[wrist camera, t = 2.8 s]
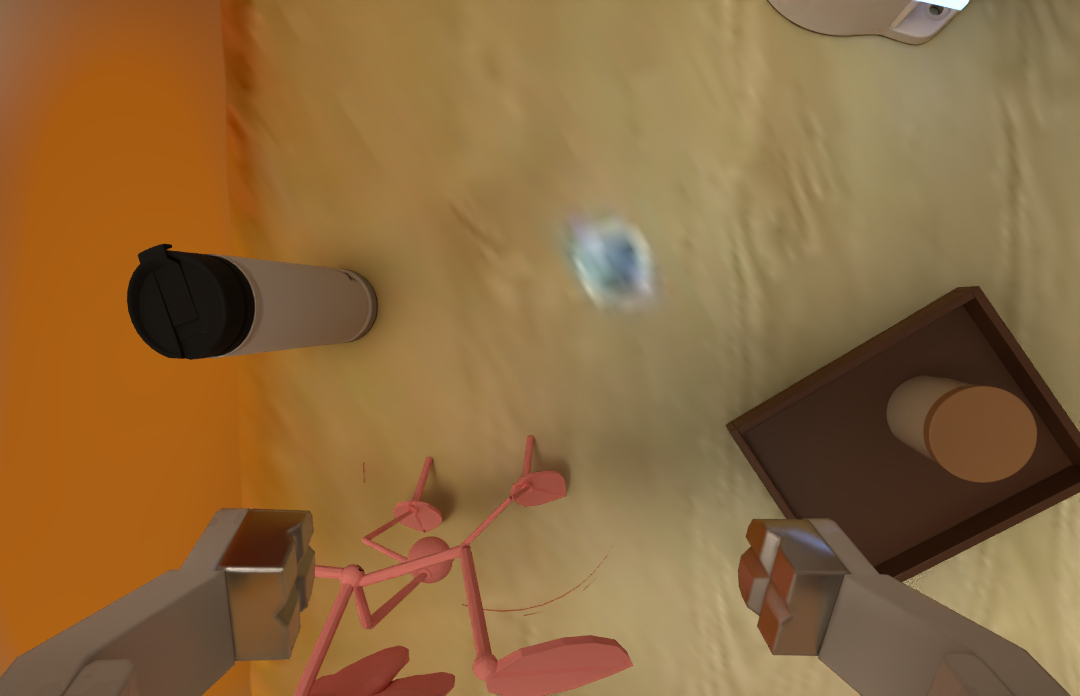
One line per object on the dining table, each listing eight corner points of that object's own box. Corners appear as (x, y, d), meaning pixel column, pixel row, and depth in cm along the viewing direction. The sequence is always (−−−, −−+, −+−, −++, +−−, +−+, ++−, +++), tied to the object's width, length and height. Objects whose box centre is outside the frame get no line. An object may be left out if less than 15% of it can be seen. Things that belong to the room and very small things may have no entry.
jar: (942, 357, 46) (1001, 367, 38) (989, 426, 45) (1058, 451, 38) (867, 400, 47) (909, 418, 39) (913, 467, 47) (964, 500, 39)
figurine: (338, 467, 56) (-180, 725, 21) (626, 405, 51) (553, 613, 16) (380, 635, 56) (-64, 1156, 22) (670, 590, 51) (691, 1178, 17)
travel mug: (364, 255, 54) (195, 227, 34) (387, 330, 54) (232, 343, 34) (300, 278, 55) (103, 263, 36) (323, 351, 55) (138, 376, 36)
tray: (958, 286, 46) (979, 285, 43) (1081, 465, 45) (1110, 476, 42) (725, 424, 49) (729, 432, 46) (835, 592, 49) (846, 610, 46)
